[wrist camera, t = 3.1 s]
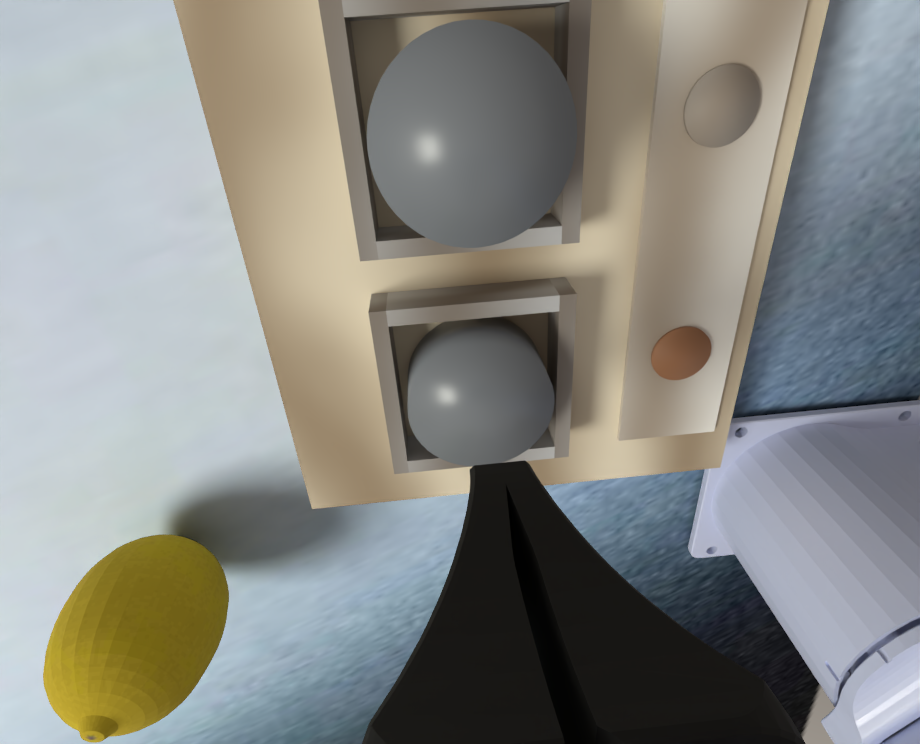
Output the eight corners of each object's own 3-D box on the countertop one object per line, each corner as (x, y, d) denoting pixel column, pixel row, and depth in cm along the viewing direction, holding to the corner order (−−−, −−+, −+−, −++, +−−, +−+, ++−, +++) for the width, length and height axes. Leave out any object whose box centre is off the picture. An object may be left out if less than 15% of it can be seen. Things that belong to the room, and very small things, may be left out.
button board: (922, -699, 10) (1137, -1016, 7) (696, 436, 23) (739, 492, 20) (29, -679, 9) (-146, -1016, 6) (319, 474, 22) (305, 536, 20)
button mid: (557, 18, 12) (582, 11, 10) (552, 217, 14) (572, 239, 12) (359, 31, 12) (350, 27, 10) (385, 231, 14) (381, 256, 12)
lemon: (238, 491, 23) (162, 682, 16) (258, 581, 25) (201, 776, 18) (98, 495, 22) (-43, 693, 15) (135, 586, 25) (29, 788, 18)
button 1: (541, 308, 17) (556, 336, 15) (540, 422, 19) (552, 459, 17) (400, 320, 17) (399, 351, 15) (415, 435, 19) (415, 473, 17)
